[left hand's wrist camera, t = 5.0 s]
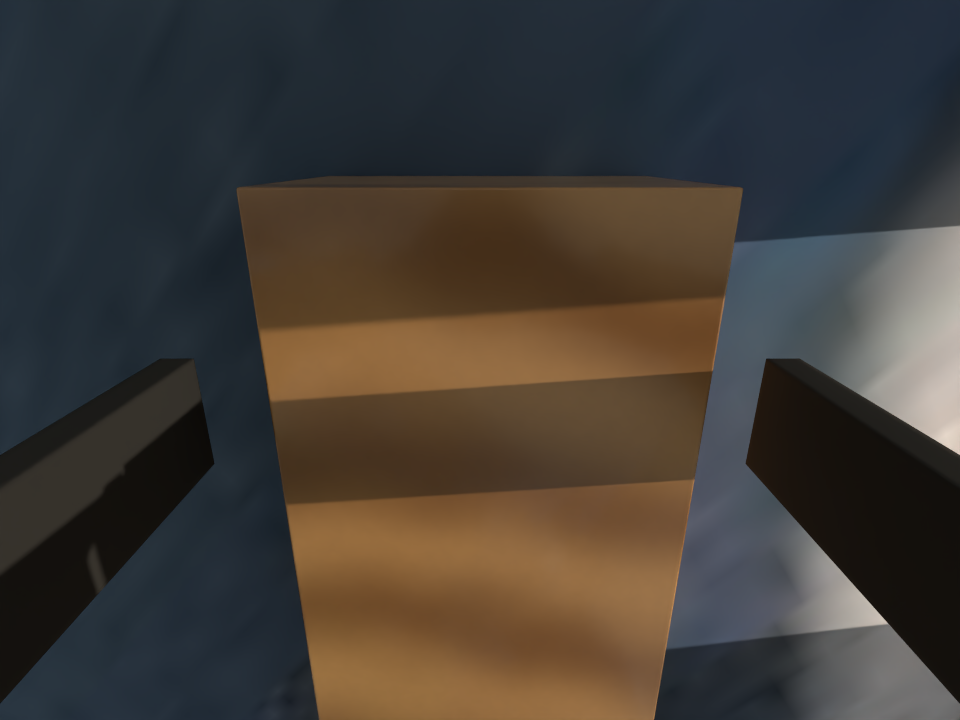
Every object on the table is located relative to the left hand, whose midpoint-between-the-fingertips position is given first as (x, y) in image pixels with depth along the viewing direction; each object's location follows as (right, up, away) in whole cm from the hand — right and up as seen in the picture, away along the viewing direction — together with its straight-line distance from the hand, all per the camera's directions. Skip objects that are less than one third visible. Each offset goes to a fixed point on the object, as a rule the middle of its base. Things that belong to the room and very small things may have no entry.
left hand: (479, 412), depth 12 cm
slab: (0, -19, +14) cm, 24 cm away
